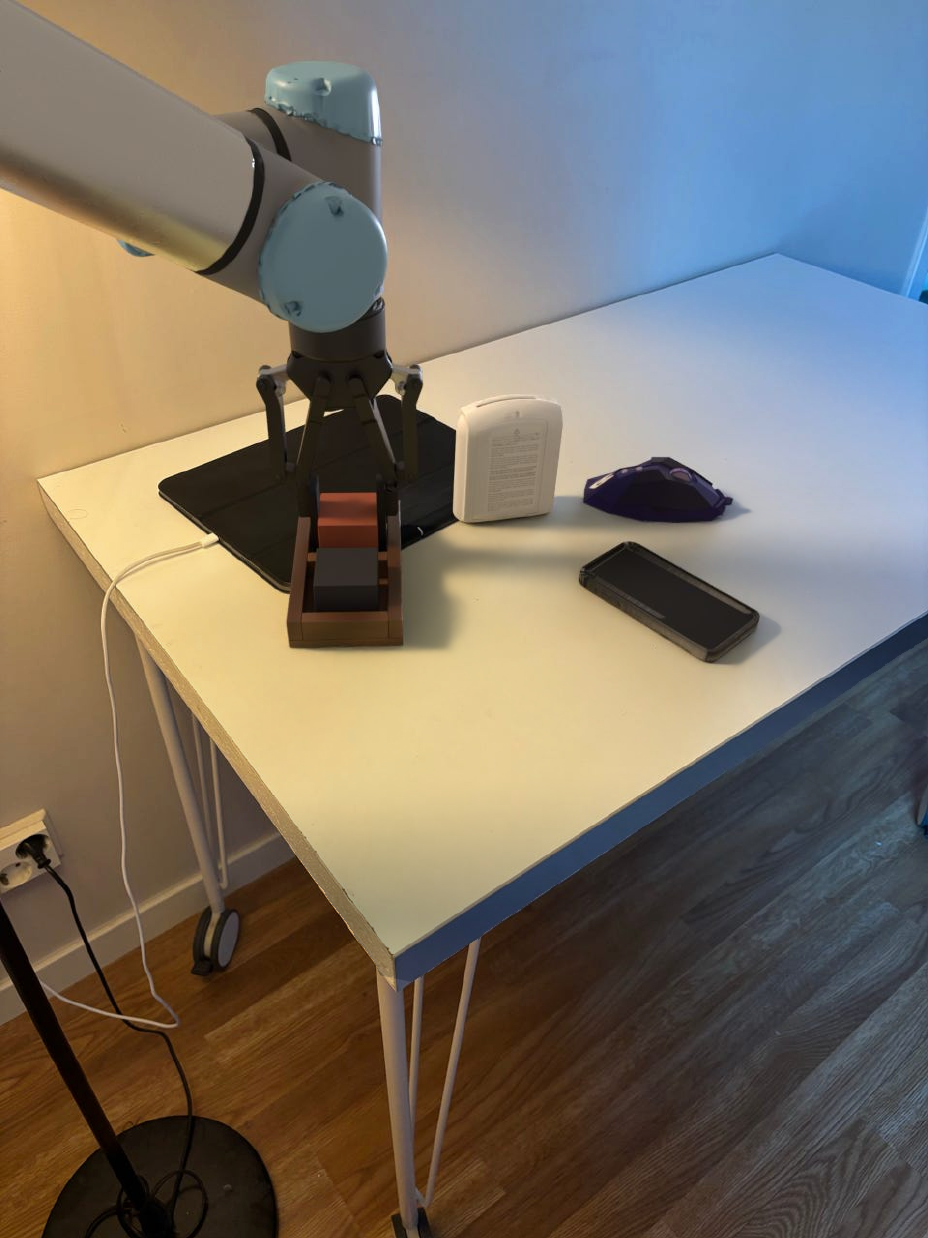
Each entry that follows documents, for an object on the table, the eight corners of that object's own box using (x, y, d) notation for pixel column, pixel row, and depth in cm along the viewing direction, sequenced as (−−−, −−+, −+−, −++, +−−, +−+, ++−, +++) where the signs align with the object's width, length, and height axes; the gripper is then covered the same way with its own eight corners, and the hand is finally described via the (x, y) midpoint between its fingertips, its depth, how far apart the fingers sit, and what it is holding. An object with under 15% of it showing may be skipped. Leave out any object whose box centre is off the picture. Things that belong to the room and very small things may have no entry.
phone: (629, 538, 90) (765, 614, 82) (627, 547, 91) (762, 624, 83) (573, 571, 86) (711, 656, 78) (572, 581, 86) (708, 666, 78)
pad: (320, 562, 86) (317, 525, 83) (323, 528, 90) (320, 492, 87) (378, 561, 86) (377, 524, 84) (378, 528, 90) (377, 492, 88)
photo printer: (544, 492, 98) (556, 381, 90) (559, 515, 95) (572, 402, 87) (447, 504, 95) (450, 392, 87) (459, 529, 92) (463, 414, 84)
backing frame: (289, 647, 79) (286, 622, 77) (302, 525, 92) (300, 500, 90) (403, 645, 79) (402, 620, 78) (400, 524, 93) (399, 499, 91)
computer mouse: (589, 464, 102) (593, 431, 100) (729, 483, 100) (738, 450, 98) (579, 512, 95) (584, 478, 93) (730, 533, 93) (739, 499, 91)
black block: (316, 623, 80) (313, 586, 77) (319, 584, 84) (316, 547, 81) (378, 622, 80) (377, 585, 78) (379, 583, 84) (377, 547, 82)
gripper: (451, 278, 76) (446, 518, 91) (220, 277, 75) (254, 520, 90) (457, 316, 71) (451, 565, 86) (207, 316, 69) (245, 569, 85)
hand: (350, 542), depth 88 cm, fingers closed on pad, 5 cm apart
